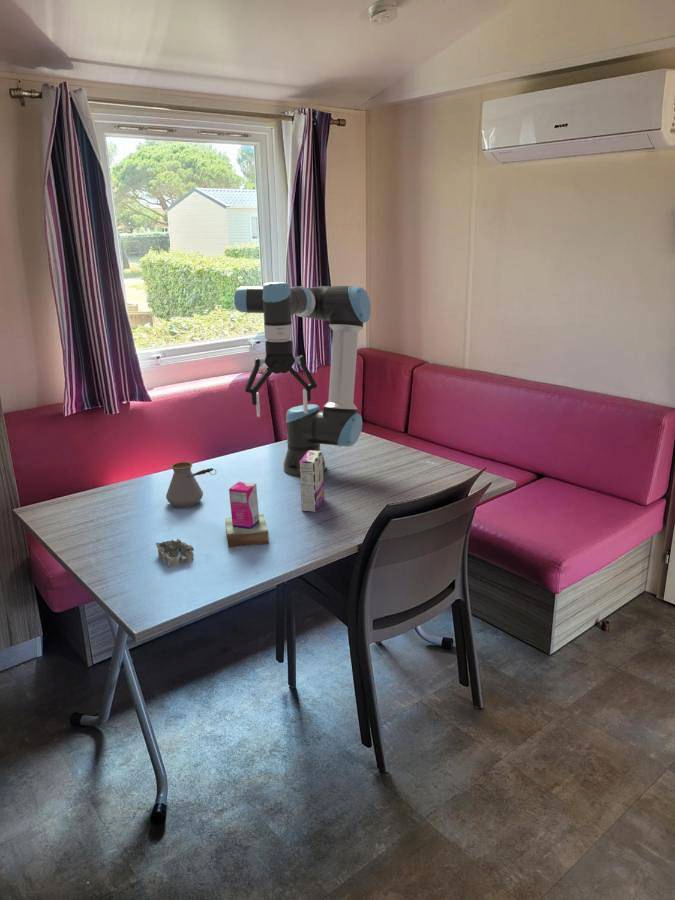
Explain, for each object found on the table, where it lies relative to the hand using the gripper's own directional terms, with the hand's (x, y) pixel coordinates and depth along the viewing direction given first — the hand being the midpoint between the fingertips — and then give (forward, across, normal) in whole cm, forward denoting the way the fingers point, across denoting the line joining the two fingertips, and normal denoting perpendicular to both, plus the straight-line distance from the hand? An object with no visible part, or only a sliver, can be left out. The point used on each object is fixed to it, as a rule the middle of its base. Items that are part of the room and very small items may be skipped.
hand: (282, 414), depth 191 cm
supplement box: (+28, -13, -12) cm, 33 cm away
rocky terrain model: (+32, -32, -20) cm, 50 cm away
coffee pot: (+32, -27, +14) cm, 44 cm away
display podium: (+32, -13, -12) cm, 36 cm away
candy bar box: (+32, +9, +6) cm, 34 cm away
